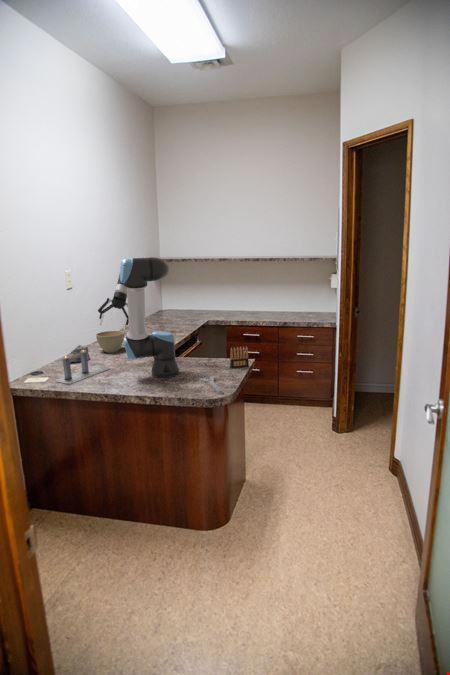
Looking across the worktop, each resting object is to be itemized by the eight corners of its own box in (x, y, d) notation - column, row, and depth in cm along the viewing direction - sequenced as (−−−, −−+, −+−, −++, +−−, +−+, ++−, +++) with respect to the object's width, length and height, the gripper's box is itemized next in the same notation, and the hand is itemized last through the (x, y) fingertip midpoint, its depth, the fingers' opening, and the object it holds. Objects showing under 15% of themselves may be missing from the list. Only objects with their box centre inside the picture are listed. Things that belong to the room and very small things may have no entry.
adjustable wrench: (224, 395, 212) (224, 391, 211) (211, 396, 210) (211, 393, 210) (213, 378, 236) (213, 375, 235) (201, 380, 234) (201, 377, 234)
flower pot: (127, 352, 292) (125, 334, 290) (98, 356, 286) (97, 337, 284) (123, 346, 309) (122, 329, 306) (96, 349, 303) (94, 332, 300)
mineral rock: (67, 364, 270) (65, 348, 267) (68, 359, 280) (66, 344, 278) (89, 362, 273) (88, 346, 271) (90, 357, 283) (88, 342, 281)
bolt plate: (110, 368, 258) (108, 346, 255) (69, 384, 233) (66, 359, 230) (97, 366, 263) (95, 344, 260) (56, 381, 237) (53, 357, 234)
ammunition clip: (248, 365, 256) (247, 345, 253) (249, 366, 254) (248, 346, 251) (229, 367, 253) (229, 347, 251) (230, 368, 252) (230, 348, 249)
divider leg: (89, 371, 249) (87, 350, 246) (85, 372, 246) (83, 351, 244) (85, 370, 250) (83, 349, 247) (81, 371, 248) (79, 350, 245)
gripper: (142, 300, 269) (133, 333, 264) (100, 290, 266) (91, 324, 261) (142, 296, 262) (133, 331, 257) (99, 286, 259) (89, 321, 254)
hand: (112, 327), depth 259 cm, fingers open, 13 cm apart
